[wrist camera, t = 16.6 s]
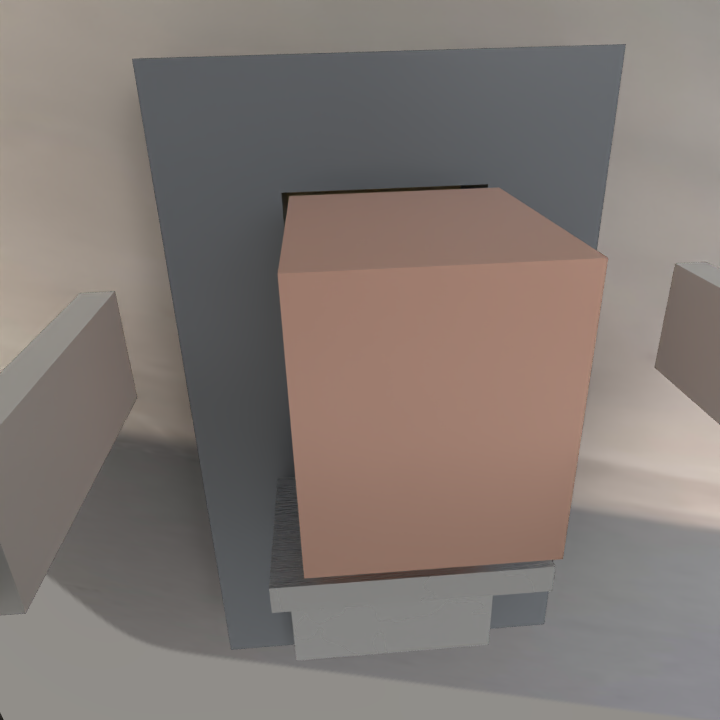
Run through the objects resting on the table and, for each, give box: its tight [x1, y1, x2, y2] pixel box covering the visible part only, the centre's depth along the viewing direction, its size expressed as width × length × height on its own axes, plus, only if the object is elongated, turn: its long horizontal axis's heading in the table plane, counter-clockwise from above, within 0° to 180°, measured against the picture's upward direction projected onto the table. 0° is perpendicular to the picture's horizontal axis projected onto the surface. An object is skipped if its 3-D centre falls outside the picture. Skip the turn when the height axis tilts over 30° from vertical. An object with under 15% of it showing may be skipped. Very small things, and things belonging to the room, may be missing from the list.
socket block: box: [132, 44, 626, 650], centre depth 21 cm, size 20×12×4 cm, turn 2°
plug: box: [278, 187, 608, 579], centre depth 16 cm, size 6×5×11 cm
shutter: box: [269, 477, 555, 661], centre depth 19 cm, size 8×7×5 cm
